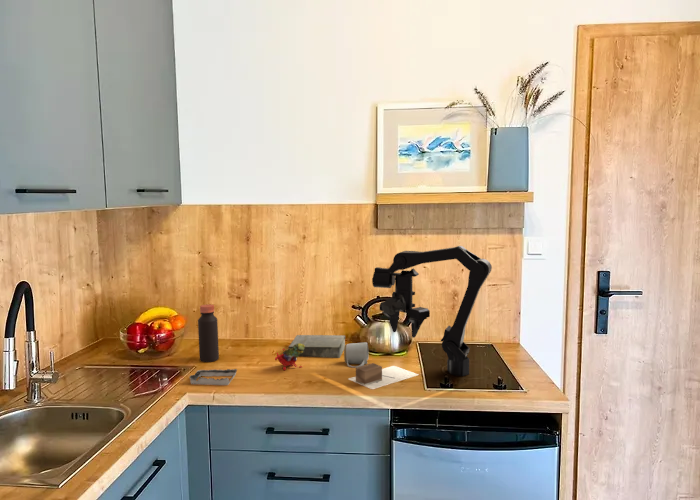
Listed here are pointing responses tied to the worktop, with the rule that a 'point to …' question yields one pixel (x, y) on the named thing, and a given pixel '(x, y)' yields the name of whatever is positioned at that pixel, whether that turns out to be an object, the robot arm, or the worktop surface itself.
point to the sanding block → (369, 374)
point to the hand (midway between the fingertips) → (403, 334)
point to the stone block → (320, 345)
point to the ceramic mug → (356, 354)
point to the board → (389, 377)
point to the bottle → (208, 334)
